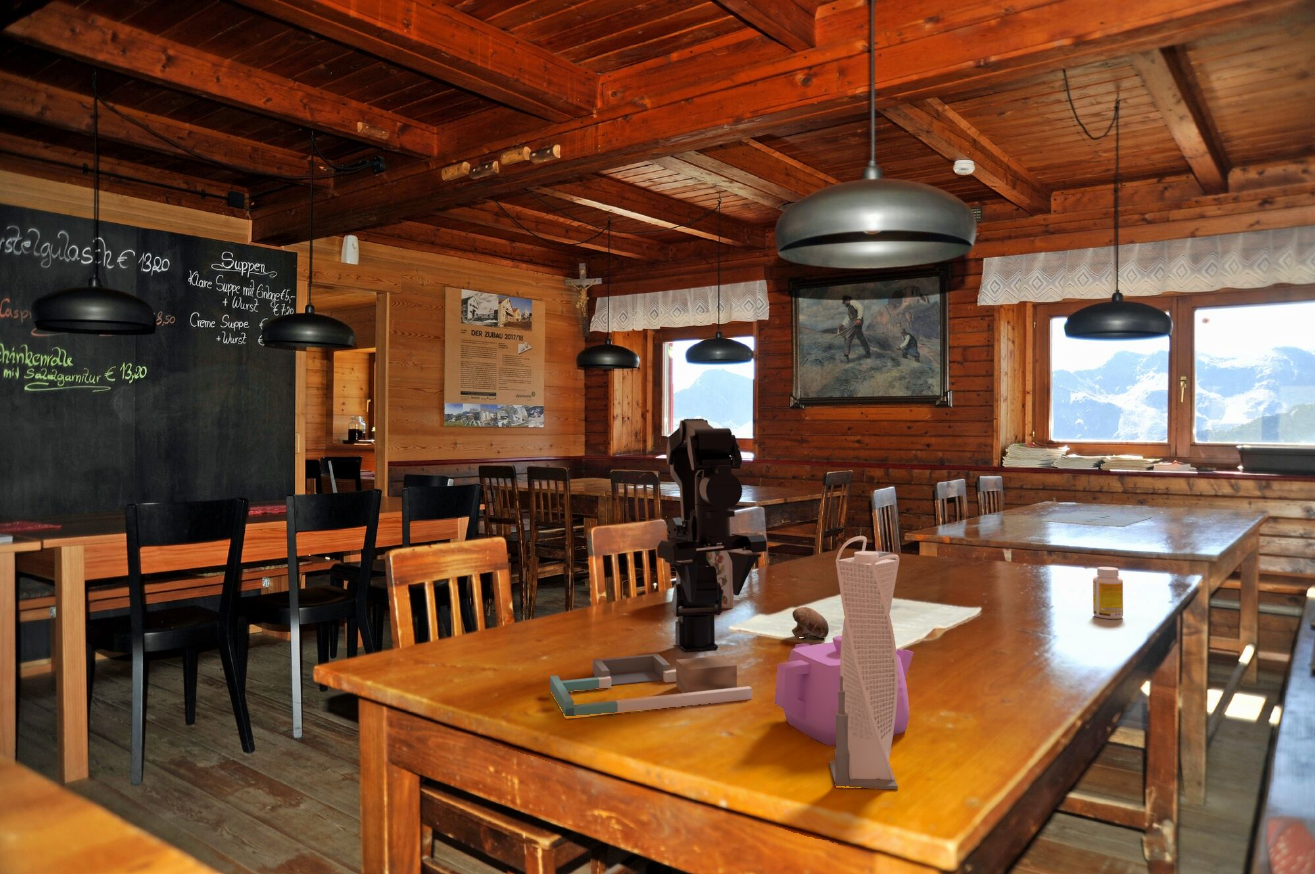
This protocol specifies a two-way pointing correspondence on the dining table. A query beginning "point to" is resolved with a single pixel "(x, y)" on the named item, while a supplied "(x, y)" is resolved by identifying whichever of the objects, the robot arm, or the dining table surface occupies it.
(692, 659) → the block
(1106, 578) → the supplement bottle
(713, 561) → the decorative jar
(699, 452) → the robot arm
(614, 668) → the walled track with bay
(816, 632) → the mushroom
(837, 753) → the skyscraper
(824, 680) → the teakettle
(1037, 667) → the dining table surface
